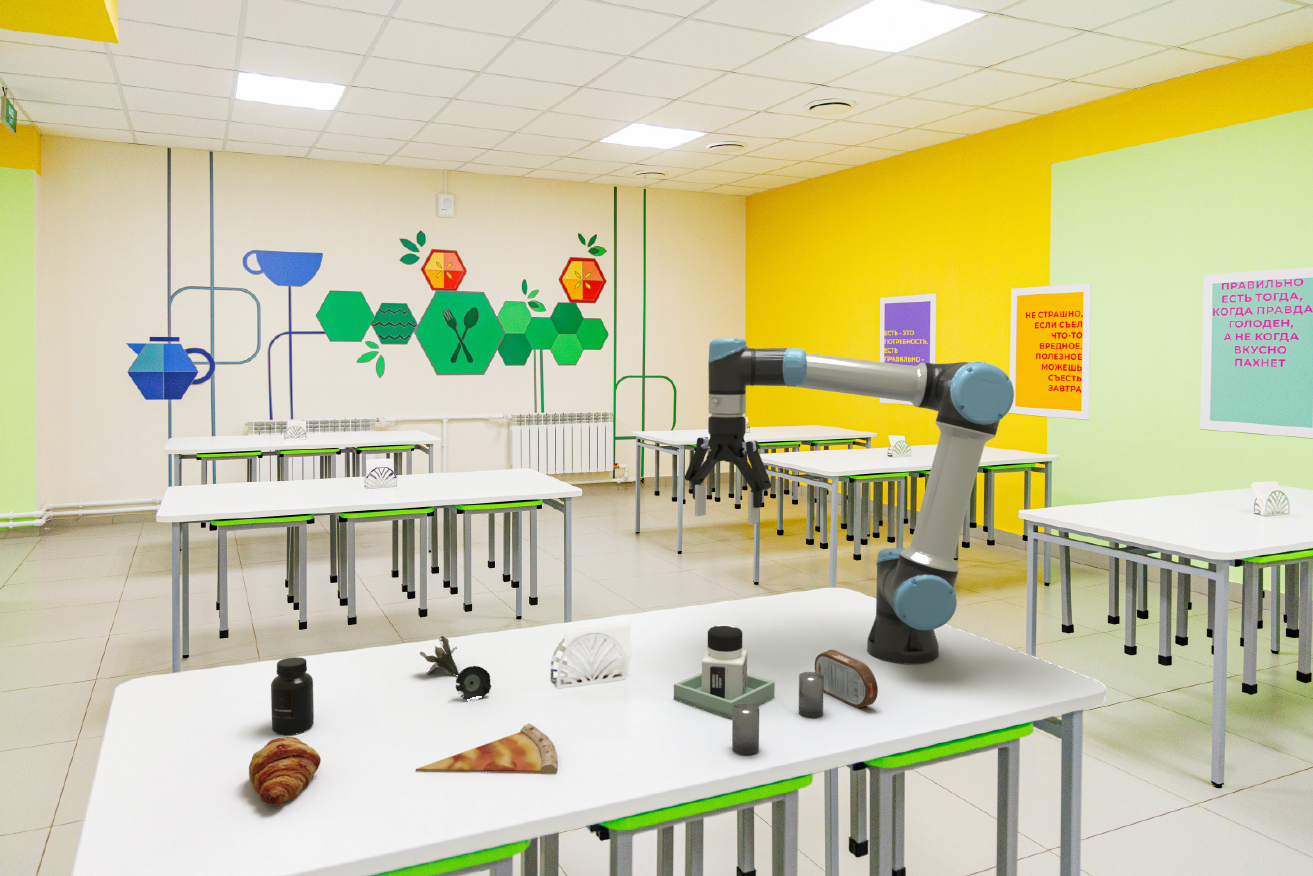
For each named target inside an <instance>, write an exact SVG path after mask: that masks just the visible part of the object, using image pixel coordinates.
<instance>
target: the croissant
mask: <svg viewBox="0 0 1313 876" xmlns="http://www.w3.org/2000/svg"><path fill="white" fill-rule="evenodd" d="M321 762H322V759H321V756H320V753H318V752H317V751H316V749H315V748H313V747H312V746H309V745H308V744H307V743H305V742H304V741H301V740H300V739H299V738H297V737H294V736H284V737H279V738H273V739H271V740H270V741H267V744H265V745H264V746H263V747H262V748H261V749H259V750H257V751H256V752H255V753H253V755H252V757H251V760H250V761H249V767H248V776H249V777H248V778H249V781H250V784H251V786H252V788H253V790H254V791H255V793H256V794H257V795H258V797H259V798H260V801H262V802H263V803H264V804H266V805H269V806H277V805H280V804H283V803H284V802H286V801H289V800H292V799H294V798H296V797H297V796H298V795H300V793H301V792H302V790H304V789H305V788H306V787H307V786H308V785H309V784H310V782H311V780H312V778H313V776H314V775H315V774H316V773H317V771H318V769H319V768H320V765H321Z"/></svg>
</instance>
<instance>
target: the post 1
mask: <svg viewBox="0 0 1313 876" xmlns="http://www.w3.org/2000/svg"><path fill="white" fill-rule="evenodd" d="M731 721H732V723H731V724H732V729H731V731H732V732H731V733H732V735H731V737H732V738H731V739H732V743H731V744H732V745H731V750H732V752H733V753H734V754H736V755H739V756H746V757H750V756H754V755H757V754H758V753H759V752H760V708H759V707H758V706H755V705H752V704H737V705H735V706H733V708H732V719H731Z"/></svg>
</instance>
